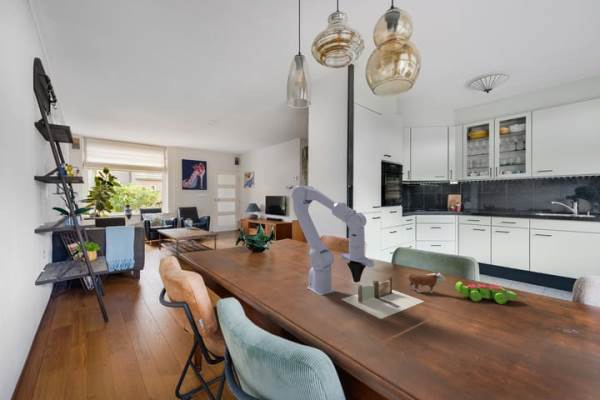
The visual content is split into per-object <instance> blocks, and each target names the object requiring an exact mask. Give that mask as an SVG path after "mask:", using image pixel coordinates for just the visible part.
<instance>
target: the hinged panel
mask: <svg viewBox="0 0 600 400" xmlns="http://www.w3.org/2000/svg"><path fill="white" fill-rule="evenodd" d="M357 294H358V302H363V301H366V300H369V299H372V298H374V285H373V284H370V285H366V286H362V285H361V284H360V285H357Z"/></svg>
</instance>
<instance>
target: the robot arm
mask: <svg viewBox="0 0 600 400" xmlns="http://www.w3.org/2000/svg"><path fill="white" fill-rule="evenodd" d="M291 198H292V202H293V203H292V204H293V212H294V214H295V215H294V216H296V219H297V222H298V224H299V226H300V228H301V230H302V232H303V235H304V237H305V240H306V242H307V244H308V246H309V248H310V250H309V254H308V255H309V258H310V265H311V268H310V269H309V271H308V286H307V290H310V291H312V292H314V293H315V294H317V295H319V296H324V295H328V294H331V293H335V292H337V290H336V289H335V288H332V265H333V264H334V261H335V256H334V254H333V253H332V252H331V251H330V250H329V248H328V246H327V245H325V243H323V241H322V239H321V237H320V235H319V233H318V230H317V228H316V225H315V224H314V222H313V220H312V218H311V215H310V213H309V211H308V210H309V207H310V205H311V203H312V202H313V201H316V202H318V203H319V204H321V205H323V206H324V207H326V208H328V209H329V210H331V213H332V215H333V216H334V217H336V218H337V219H339V220H340V221H341V222H343V223H345V224H346V226H347V227H348V253H341V259H342V260H347V261H349V262H347V266H348V268H349V270H350V272H351V273H350V274H351V276H352V280H353V281H352V282H353V283H356V284H357V283H359V282H361V278H362V275H363V273H364V270H365V269H366V267H368V268H371V267H373V268H374V264H375V261H374V260H372V259H369V258H368V257H366V253H365V251H366V250H365V237H366V235H365V226H366V224H367V218H366V216H365V215H364V214H363V213H362V212H357V210H356V209H352V208H350V207H349V206H348V205H347V203H346V202H335V201H334V200H333V199H331V198H330V197H328V196H327V195H325V194H324V193H323V192H321V191H320V190H318V189H317V188H314V187H313V186H309V185H307V186H305V185H297V186H295V187H294V188H293V190H292V192H291Z"/></svg>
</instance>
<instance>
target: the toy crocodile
mask: <svg viewBox="0 0 600 400" xmlns="http://www.w3.org/2000/svg"><path fill="white" fill-rule="evenodd" d="M463 284H464V283H463V282H462V281H460V280H459V281H457V282H456V284H455V286H454V287H455V291H456V292H457V293H460V294H461V295H462V296H464V297H465V296H466V297H469V299H471V301H473V302H480V301H481V300H482V299H493V300H494V301H495V302H496V303H498V304H500V305H504V304H506V303H507V302H508V300H512V301H515V300H516V299H518V298H519V295H518V294H516V293H515V292H513V291H512V290H507V289H504V288H503V287H502V286H498V285H488V286H487V284H481V283H478V284H477V285H476V284H474V283H472V284H471V283H470V284H467V285H466V286H465V285H463Z"/></svg>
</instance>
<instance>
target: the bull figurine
mask: <svg viewBox="0 0 600 400" xmlns="http://www.w3.org/2000/svg"><path fill="white" fill-rule="evenodd" d="M408 279H409V287H410V290H412V291H415V290H416V292H417V293H419V294H420V293H422V292H421V290H420V289H419V285H420V287H421V288H423V287H426V286H427V287H429V293H430V294H433V293H434V292H435V291H434V287H436V286H437V285H438V284H439V283H441V282H443V283H444V282H446V281H447V279H446V278H445V277H444V275H443V274H441V272H438V273H435V272H433V273H427V274H418V273H411V274H409V276H408Z"/></svg>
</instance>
